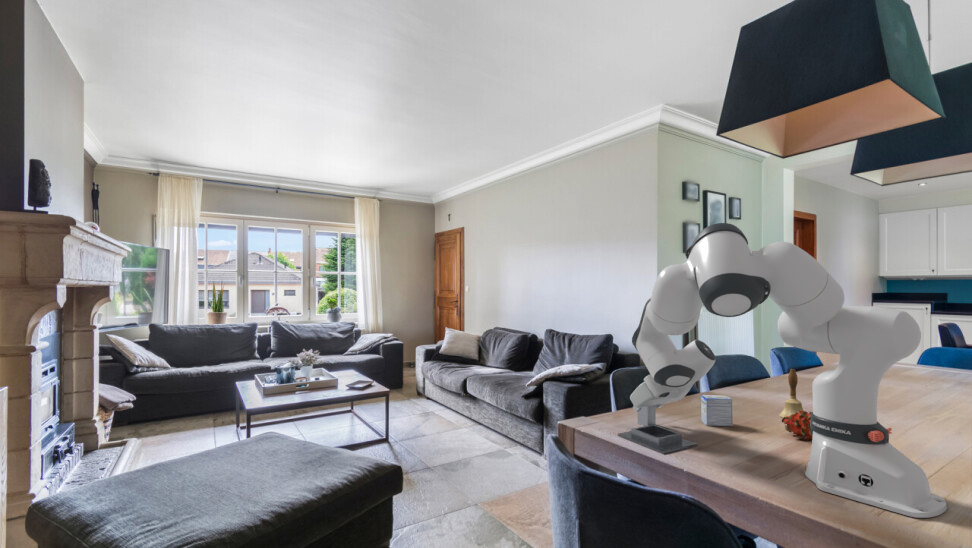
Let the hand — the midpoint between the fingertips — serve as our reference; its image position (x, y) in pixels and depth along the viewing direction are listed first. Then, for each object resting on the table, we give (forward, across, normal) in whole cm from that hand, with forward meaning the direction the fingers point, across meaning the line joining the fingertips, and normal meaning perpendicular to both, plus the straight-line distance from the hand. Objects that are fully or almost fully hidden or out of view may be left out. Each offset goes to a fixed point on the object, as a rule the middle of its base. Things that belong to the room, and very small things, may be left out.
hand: (646, 407), depth 138 cm
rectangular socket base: (-5, +9, +12) cm, 16 cm away
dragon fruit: (-17, -30, +25) cm, 43 cm away
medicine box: (-3, -20, +11) cm, 23 cm away
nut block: (+4, 0, +4) cm, 5 cm away
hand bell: (-8, -50, +16) cm, 53 cm away
